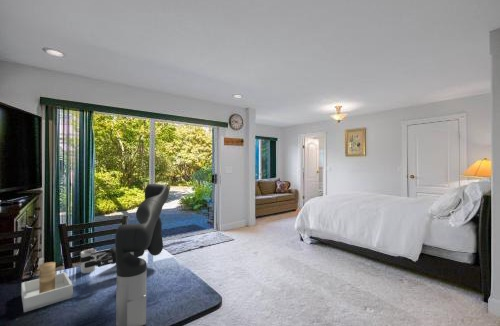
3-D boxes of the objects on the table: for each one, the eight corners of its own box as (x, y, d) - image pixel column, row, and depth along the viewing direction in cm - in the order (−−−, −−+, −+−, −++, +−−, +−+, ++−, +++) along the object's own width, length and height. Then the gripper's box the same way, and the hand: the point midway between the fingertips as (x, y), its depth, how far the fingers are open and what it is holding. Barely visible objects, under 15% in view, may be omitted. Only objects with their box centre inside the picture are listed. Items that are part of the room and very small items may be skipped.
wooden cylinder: (55, 293, 100) (56, 264, 100) (39, 298, 96) (40, 267, 96) (54, 289, 103) (54, 260, 103) (38, 293, 100) (39, 264, 100)
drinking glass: (99, 268, 127) (99, 249, 127) (89, 273, 121) (89, 253, 121) (87, 268, 128) (87, 248, 128) (77, 273, 121) (77, 253, 121)
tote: (72, 297, 99) (73, 284, 99) (23, 312, 88) (24, 298, 88) (65, 283, 111) (65, 272, 111) (21, 295, 100) (21, 282, 101)
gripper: (116, 243, 125) (79, 250, 113) (126, 249, 115) (86, 258, 103) (116, 257, 125) (78, 266, 113) (126, 265, 115) (86, 276, 103)
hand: (82, 262), depth 108 cm, fingers open, 8 cm apart
